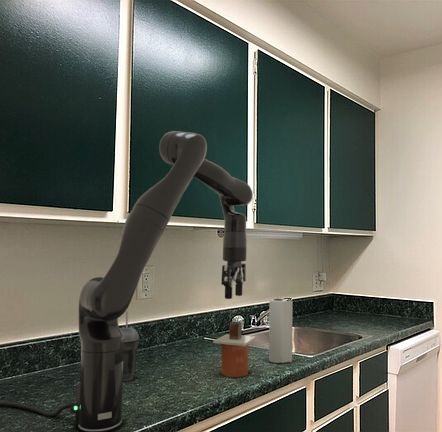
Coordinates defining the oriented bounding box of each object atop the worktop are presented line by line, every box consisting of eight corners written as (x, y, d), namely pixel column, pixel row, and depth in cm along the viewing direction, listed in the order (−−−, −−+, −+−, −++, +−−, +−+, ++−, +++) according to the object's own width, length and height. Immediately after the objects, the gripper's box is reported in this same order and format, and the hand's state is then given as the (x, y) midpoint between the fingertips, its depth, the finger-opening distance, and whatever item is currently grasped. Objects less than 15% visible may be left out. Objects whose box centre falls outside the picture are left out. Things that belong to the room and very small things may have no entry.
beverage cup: (115, 384, 131) (117, 314, 132) (111, 377, 137) (113, 310, 138) (140, 380, 134) (142, 312, 135) (135, 374, 140) (137, 309, 141)
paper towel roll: (265, 360, 158) (266, 299, 159) (278, 357, 161) (278, 297, 162) (278, 365, 152) (279, 301, 153) (292, 362, 156) (292, 300, 157)
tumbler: (216, 375, 140) (217, 342, 141) (227, 367, 148) (228, 337, 149) (242, 378, 137) (242, 345, 138) (252, 370, 145) (252, 339, 146)
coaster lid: (213, 343, 140) (213, 324, 140) (226, 336, 150) (227, 318, 150) (244, 346, 137) (245, 327, 137) (256, 339, 146) (256, 321, 147)
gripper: (232, 245, 152) (231, 294, 151) (214, 245, 138) (213, 299, 137) (253, 246, 149) (252, 295, 148) (237, 246, 136) (236, 300, 135)
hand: (233, 297), depth 143 cm, fingers open, 8 cm apart
